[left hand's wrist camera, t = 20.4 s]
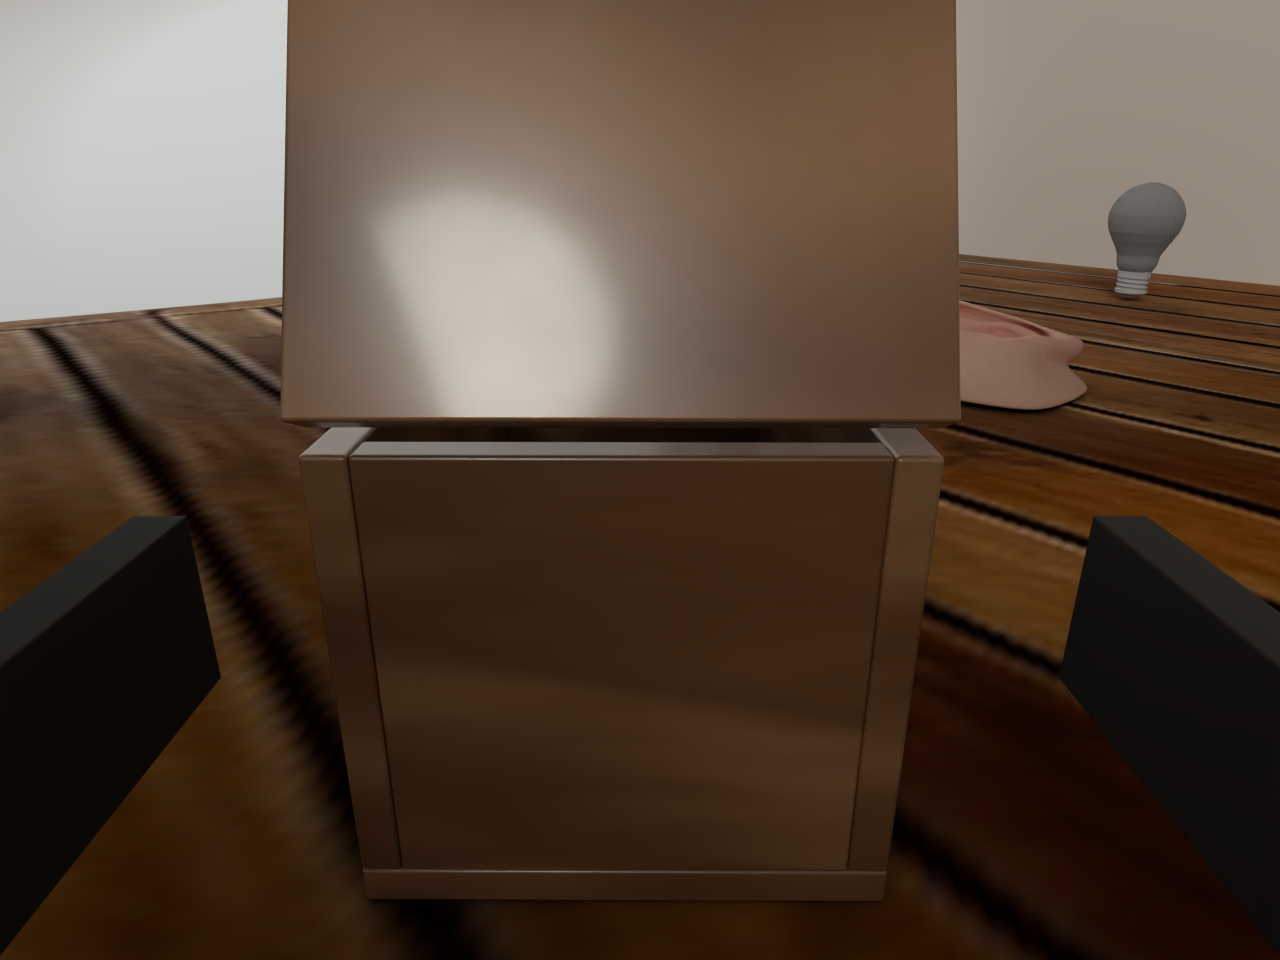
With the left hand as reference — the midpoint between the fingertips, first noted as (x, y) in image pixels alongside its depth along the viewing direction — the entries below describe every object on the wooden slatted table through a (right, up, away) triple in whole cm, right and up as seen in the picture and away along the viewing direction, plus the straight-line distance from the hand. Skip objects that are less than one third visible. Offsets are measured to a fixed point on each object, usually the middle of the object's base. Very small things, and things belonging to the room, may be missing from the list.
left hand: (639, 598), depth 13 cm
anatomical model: (+20, +8, +38) cm, 44 cm away
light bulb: (+45, +18, +66) cm, 82 cm away
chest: (0, -3, +10) cm, 11 cm away
